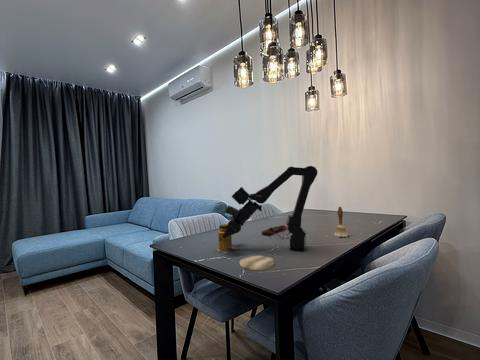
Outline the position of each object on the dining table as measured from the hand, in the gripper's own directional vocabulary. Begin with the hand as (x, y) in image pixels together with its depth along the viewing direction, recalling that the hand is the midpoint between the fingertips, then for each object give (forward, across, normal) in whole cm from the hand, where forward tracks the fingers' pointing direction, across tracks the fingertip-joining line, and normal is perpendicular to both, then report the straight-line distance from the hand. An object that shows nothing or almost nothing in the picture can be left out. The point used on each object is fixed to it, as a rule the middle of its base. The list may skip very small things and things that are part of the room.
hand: (224, 234), depth 128 cm
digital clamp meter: (-16, -29, +27) cm, 43 cm away
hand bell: (-38, -22, +48) cm, 64 cm away
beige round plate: (-6, +19, +16) cm, 26 cm away
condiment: (+5, 0, +6) cm, 8 cm away
